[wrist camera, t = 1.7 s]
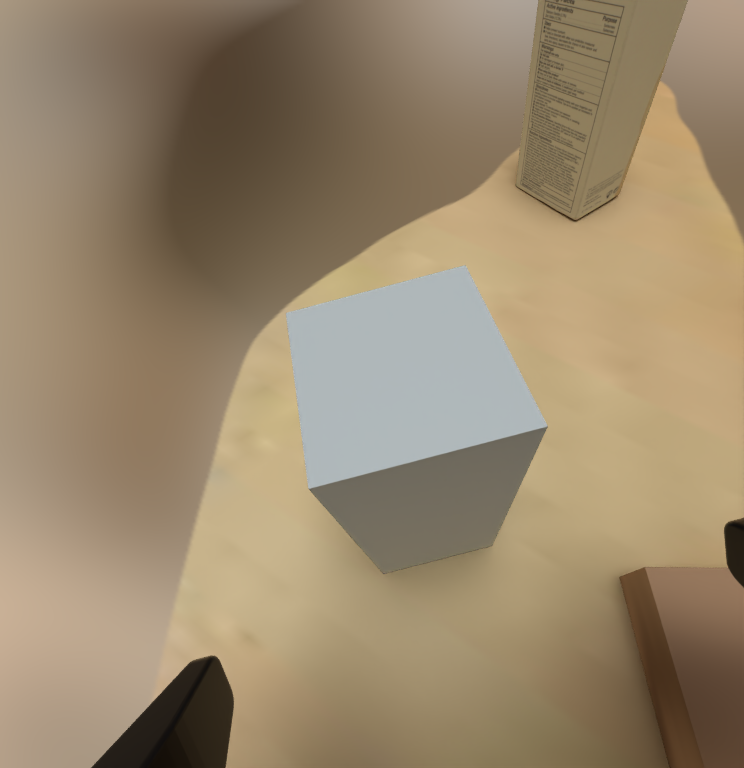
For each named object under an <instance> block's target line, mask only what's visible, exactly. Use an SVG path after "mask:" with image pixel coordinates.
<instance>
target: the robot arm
mask: <svg viewBox="0 0 744 768" xmlns="http://www.w3.org/2000/svg"><path fill="white" fill-rule="evenodd" d="M724 536H725V548H726V559H727V565H728V568H729V570H730V572H731V574H732V575H733V577H734V578H735V579H736V580H737V581H738V582H739V584H740V585H741V586H742V587H743V588H744V518H741V519H737V520H733V521H730V522H728V523H727V524H726V525H725V527H724ZM233 708H234V699H233V692H232V689H231V687H230V684H229V682H228V679H227V677H226V675H225V672H224V670H223V667H222V665H221V662H220V660H219V659H218V658H217V657H216V656H208V657H204V658H200V659H196V660H193V661H192V662H190V663H189V664H188V665H187V666H186V667H185V668H184V669H183V670H182V671H181V672H180V673H179V675H178V676H177V677H176V678H175V679H174V680H173V681H172V682H171V683H170V684H169V685H168V686H167V687H166V688H165V690H164V691H163V692H162V693H161V694H160V695H159V696H158V697H157V698H156V699H155V700H154V701H153V702H152V703H151V704H150V706H149V707H148V708H147V709H146V710H145V711H144V712H143V713H142V714H141V715H140V716H139V717H138V718H137V719H136V721H135V722H134V723H133V724H132V725H131V726H130V727H129V728H128V729H127V730H126V731H125V732H124V733H123V734H122V735H121V737H120V738H119V739H118V740H117V741H116V742H115V743H114V744H113V745H112V746H111V747H110V748H109V749H108V750H107V751H106V753H105V754H104V755H103V756H102V757H101V758H100V759H99V760H98V761H97V762H96V763H95V764H94V765H93V766H92V768H226V761H227V753H228V746H229V738H230V731H231V723H232V716H233Z"/></svg>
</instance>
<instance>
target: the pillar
mask: <svg viewBox="0 0 744 768" xmlns="http://www.w3.org/2000/svg"><path fill="white" fill-rule="evenodd" d="M286 318H287V325H288V333H289V341H290V349H291V356H292V364H293V372H294V380H295V387H296V395H297V403H298V411H299V418H300V426H301V434H302V442H303V449H304V457H305V465H306V473H307V480H308V488H309V490H310V491H311V492H312V493H313V494H314V496H315V497H316V498H317V499H318V500H319V501H320V502H321V504H322V505H323V506H324V507H325V508H326V509H327V510H328V512H329V513H330V514H331V515H332V516H333V517H334V518H335V519H336V521H337V522H338V523H339V524H340V525H341V526H342V527H343V529H344V530H345V531H346V532H347V533H348V534H349V535H350V537H351V538H352V539H353V540H354V541H355V542H356V543H357V544H358V546H359V547H360V548H361V549H362V550H363V551H364V552H365V554H366V555H367V556H368V557H369V558H370V559H371V560H372V562H373V563H374V564H375V565H376V566H377V567H378V568H379V569H380V571H381V572H382V573H383V574H385V573H389V572H393V571H397V570H400V569H404V568H408V567H412V566H416V565H420V564H424V563H428V562H431V561H435V560H439V559H443V558H447V557H451V556H455V555H459V554H462V553H466V552H470V551H474V550H478V549H482V548H486V547H489V546H492V545H493V543H494V541H495V538H496V536H497V534H498V532H499V530H500V528H501V526H502V523H503V521H504V519H505V517H506V515H507V513H508V511H509V508H510V506H511V504H512V502H513V500H514V498H515V496H516V493H517V491H518V489H519V487H520V485H521V483H522V481H523V478H524V476H525V474H526V472H527V470H528V468H529V466H530V463H531V461H532V459H533V457H534V455H535V453H536V450H537V448H538V446H539V444H540V442H541V440H542V438H543V435H544V433H545V431H546V429H547V427H548V426H547V424H546V422H545V420H544V418H543V416H542V414H541V412H540V410H539V408H538V406H537V404H536V402H535V400H534V398H533V397H532V395H531V393H530V391H529V389H528V387H527V385H526V383H525V381H524V379H523V377H522V375H521V373H520V371H519V369H518V367H517V365H516V363H515V361H514V359H513V357H512V355H511V353H510V351H509V349H508V348H507V346H506V344H505V342H504V340H503V338H502V336H501V334H500V332H499V330H498V328H497V326H496V324H495V322H494V320H493V318H492V316H491V314H490V312H489V310H488V308H487V306H486V304H485V302H484V300H483V299H482V297H481V295H480V293H479V291H478V289H477V287H476V285H475V283H474V281H473V279H472V277H471V275H470V273H469V271H468V269H467V267H466V265H464V266H461V267H457V268H453V269H449V270H446V271H442V272H438V273H434V274H431V275H427V276H423V277H419V278H416V279H412V280H408V281H404V282H401V283H397V284H393V285H389V286H386V287H382V288H378V289H374V290H371V291H367V292H363V293H359V294H356V295H352V296H348V297H344V298H341V299H337V300H333V301H329V302H326V303H322V304H318V305H314V306H311V307H307V308H303V309H299V310H296V311H292V312H288V313H286Z"/></svg>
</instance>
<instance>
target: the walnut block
mask: <svg viewBox="0 0 744 768" xmlns="http://www.w3.org/2000/svg"><path fill="white" fill-rule="evenodd" d="M620 581H621V585H622V589H623V592H624V596H625V600H626V604H627V608H628V611H629V615H630V619H631V623H632V627H633V630H634V634H635V638H636V642H637V646H638V649H639V653H640V657H641V661H642V664H643V668H644V672H645V676H646V680H647V683H648V687H649V691H650V695H651V699H652V702H653V706H654V710H655V714H656V718H657V721H658V725H659V729H660V733H661V736H662V740H663V744H664V748H665V752H666V755H667V759H668V763H669V767H670V768H744V588H743V587H742V586H741V585H740V584H739V582H738V581H737V580H736V579H735V578H734V577H733V575H732V574H731V572H730V570H729V568H685V567H644V568H642V569H639V570H637V571H634V572H631V573H629V574H626V575H624V576H621V577H620Z"/></svg>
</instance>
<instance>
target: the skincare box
mask: <svg viewBox="0 0 744 768" xmlns="http://www.w3.org/2000/svg"><path fill="white" fill-rule="evenodd" d="M687 2H688V0H538V8H537V16H536V24H535V32H534V40H533V49H532V56H531V64H530V72H529V81H528V88H527V96H526V105H525V113H524V121H523V128H522V137H521V145H520V153H519V161H518V169H517V177H516V186H517V187H519V188H520V189H522V190H524V191H525V192H527V193H528V194H530V195H532V196H533V197H535V198H537V199H539V200H540V201H542V202H544V203H546V204H547V205H549V206H550V207H552V208H554V209H555V210H557V211H559V212H561V213H563V214H565V215H567V216H568V217H570V218H572V219H574V220H577V219H579V218H581V217H582V216H584V215H586V214H588V213H589V212H591V211H593V210H594V209H596V208H598V207H599V206H601V205H603V204H604V203H606V202H607V201H609V200H611V199H612V198H614V197H615V196H617V195H618V194H619V193H620V191H621V188H622V185H623V182H624V180H625V177H626V174H627V171H628V168H629V165H630V163H631V160H632V157H633V154H634V151H635V149H636V146H637V143H638V140H639V137H640V134H641V132H642V129H643V126H644V123H645V120H646V118H647V115H648V112H649V109H650V107H651V104H652V101H653V98H654V95H655V93H656V90H657V87H658V84H659V81H660V78H661V75H662V73H663V70H664V67H665V64H666V61H667V58H668V56H669V52H670V50H671V47H672V44H673V42H674V38H675V36H676V33H677V30H678V27H679V24H680V22H681V19H682V16H683V13H684V10H685V7H686V4H687Z"/></svg>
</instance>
